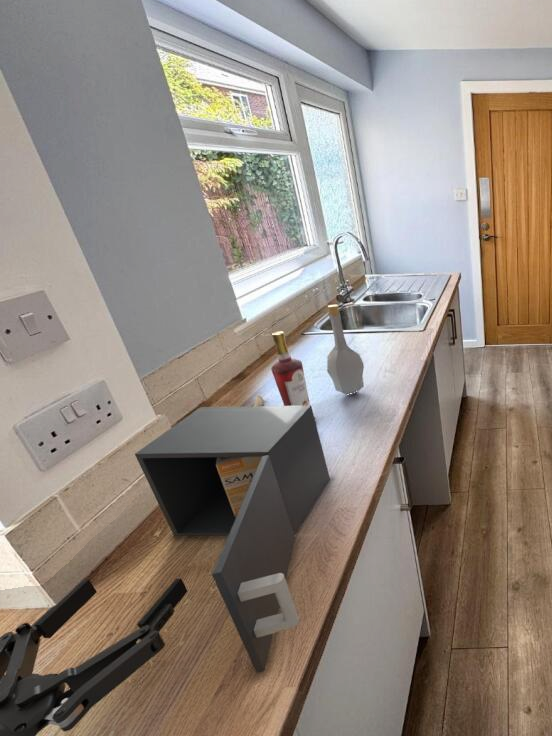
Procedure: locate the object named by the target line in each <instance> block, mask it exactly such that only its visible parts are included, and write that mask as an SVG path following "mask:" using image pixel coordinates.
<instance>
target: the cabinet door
mask: <svg viewBox="0 0 552 736" xmlns="http://www.w3.org/2000/svg"><path fill="white" fill-rule="evenodd" d="M296 539H297V538H296V534H295V535H294V532H293V529H292V526H291V522H290V519H289V516H288V513H287V510H286V507H285V504H284V501H283V498H282V495H281V492H280V488H279V485H278V482H277V479H276V476H275V473H274V470H273V467H272V464H271V461H270V457H269V455H266V456H262V459H261V461H260V463H259V466H258V468H257V470H256V473H255V475H254V477H253V480H252V482H251V484H250V487H249V489H248V491H247V494H246V496H245V498H244V501H243V503H242V505H241V508H240V510H239V512H238V515H237V517H236V519H235V522H234V524H233V526H232V529H231V531H230V533H229V536H227V538H226V540H225V542H224V545H223V548H222V550H221V552H220V554H219V556H218V558H217V562H216V564H215V566H214V568H213V571H212V572H211V576H212V579H213V581H214V583H215V584H216V587H217V589H218V591H219V593H220V595H221V598H222V600H223V602H224V604H225V606H226V607H225V608H226V609H227V611H228V613H229V615H230V617H231V620H232V623H233V624H234V627H235V629H236V631H237V633H238V636H239V637H240V640H241V642H242V644H243V646H244V648H245V650H246V653H247V655H248V657H249V659H250V662H251V664H252V666H253V668H254V670H255V673H256V674H259V673H263V672H264V671H265V670H266V667H267V663H268V657H269V654H270V649H271V646H272V645H271V644H272V640H273V637H274V634H275V633H279V632H282V631H286V630H289V629H293V628H295V627H296V626H298V624H299V623H300V621H301V620H300V616H299V613H298V611H297V608H296V604H295V602H294V600H293V597H292V594H291V591H290V588H289V585H288V582H287V576H288V573H289V568H290V563H291V559H292V555H293V551H294V547H295V544H296V543H295V542H296ZM279 610H280V611H281V612H280V613H279Z"/></svg>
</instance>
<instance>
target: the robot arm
mask: <svg viewBox="0 0 552 736" xmlns="http://www.w3.org/2000/svg"><path fill="white" fill-rule="evenodd" d="M188 592H189V591H188V589H187V587H186V585H185V582H184V581H183V579H182V578H179V577H177V578H175V579H174V580H173V581H172V583H170V585H169V586H168V587H167V588H166V589H165V591H164V592H163V593H162V595H160V596H159V598H158V599H157V600H156V601H155V603H153V604H152V606H151V607H150V608H149V609H148V610H147V612H146V613H145V614H144V615H143V616H142V618H141V619H140V620H139V621H138V622H137V623H136V626H137V627H138V629H137V630H135V631H133V632H131V633H130V634H128V635H126V636H124V637H123V638H121V639H120V640H118V641H117V642H115V643H113V644H112V645H110V646H108V647H107V648H105V649H103V650H101V652H99V653H97V654H95V655H93V656H91V657H90V658H89V659H87V660H85V661H84V662H82V663H80V664H79V665H77V666H75V667H68V668H66V669H63V670H62V671H61V672H59V673H47V674H43V675H42V674H40V673H33V672H34V668H35V664H36V661H37V656H38V652H39V649H40V648H39V647H40V645H41V641H42V638H41V637H43V639H51V638H52V637H53V636H54V635H55V634H56V633H57V632H58V631H59V630H60V629H61V628H62V627H63V626H64V625H65V624H66V623H67V622H68V621H69V620H70V619H71V618H72V617H73V616H75V615H76V614H77V613H78V611H80V610H81V609H82V608H83V607H84V606H85V605H86V603H88V602H89V601H90V600H91V599H92V598H93V597H94V596H95V595H96V594H97V593H98V591H97V590H96V588H95V586H94V585H93V583H92V581H91V580H90V579H89V578H87V579H85V578H84V579H82V580H81V582H79V583H78V584H77V585H76V586H75V587H74V588H72V589H71V591H70V592H69V593H67V594H66V595H65V596H64V597H63V598H61V600H60V601H58V602H57V603H56V604H54V605H53V606H51V607H50V608H49V609H48V610H46V612H45V613H43V614H42V615H41V616H40V617H39V618H38V619H37V620H36V621H34V622H33V623H32V624H30V623H29V622H24V623H21V624H20V625H18V626H17V627H16V628H15V630H14V632H15V633H14V632H13V631H7V632H6V633H3V634H2V635H1V636H0V736H37V735H38V734H39V733H40V732H41V731H43V730H44V729H45V728H46V727H48V725H52V726H53V725H54V726H58V727H59V728H60V729H61V731H62V732H65V733H66V732H69V731H71V730H72V729H73V728H74V727H76V725H77V724H78V723H79V722H80V721H81V720H82V719H83V718H84V717H85V716H86V714H87V713H88V712H89V711H90V710H91V709H92V708H93V707H94V706H95V705H97V703H99V702H100V701H102V700H103V699H104V698H105V697H106V696H107V695H109V694H110V693H111V692H112V691H113V690H115V689H116V688H117V687H118V686H119V685H121V684H122V683H123V682H125V681H126V680H127V679H128V678H129V677H130V676H132V675H133V674H134V673H136V672H137V671H138V670H139V669H140V668H141V667H143V666H144V665H145V664H146V663H148V662H149V661H150V660H151V659H152V658H153V657H155V656H156V655H158V653H160V651H162V650H163V649H164V648H165V646H166V643H165V641H164V639H163V637H162V635H161V633H160V632H161V630H162V629H163V628H164V626H165V625H166V624H167V623H168V622H169V620H170V619H171V618H172V617H173V615H174V613H175V608H176V607H177V606H178V604H179V603H180V602H181V600H182V599H183V598H184V597H185V595H187V594H188ZM66 685H67V686H68V687H69V689H67V690H66ZM65 690H66V691H65Z"/></svg>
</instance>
